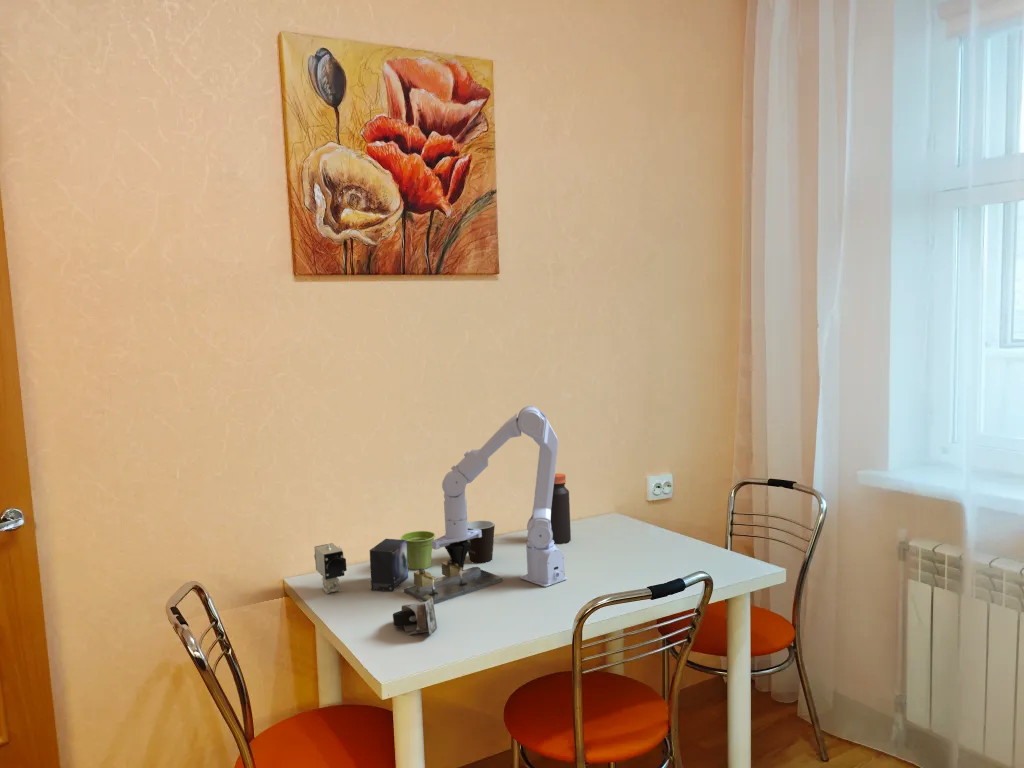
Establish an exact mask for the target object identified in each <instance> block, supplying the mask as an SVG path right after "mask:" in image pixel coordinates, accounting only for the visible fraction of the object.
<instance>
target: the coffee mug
mask: <svg viewBox="0 0 1024 768" xmlns="http://www.w3.org/2000/svg"><path fill="white" fill-rule="evenodd" d="M467 523H468V530H473V529H480V530H481V531H482V537H480V538H478V537H477V538H473V539H469V540H467V542H470V543H471V547H470V548H469V550H468V553H467V555H468V559H469V562H470V563H472V562H473V563H472V564H487V563H490V562H492V561H493V555H494V554H493V552H494V538H495V526H496V525H495V524H496V523H495V522H493V521H490V520H473V521H467ZM491 560H492V561H491ZM486 562H487V563H486Z"/></svg>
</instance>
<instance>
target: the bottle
mask: <svg viewBox="0 0 1024 768" xmlns="http://www.w3.org/2000/svg"><path fill="white" fill-rule="evenodd" d="M565 485H566V473H565V474H564V473H559V472H558V473H555V478H554V487H553V496H552V505H551V521H550V522H551V530H552V533H553V538H552V540H554V543H557V544H556V545H558V544H559V545H562V543H564V544H567V543H569V541H570V542H571V541H572V536H571V533H572V530H571V512H570V511H571V510H570V509H571V507H570V491H569V489H568V488H566V486H565Z"/></svg>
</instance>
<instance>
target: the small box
mask: <svg viewBox="0 0 1024 768" xmlns="http://www.w3.org/2000/svg"><path fill="white" fill-rule="evenodd" d="M369 563H370V568H369V569H370V591H380V592H381V591H383V592H395V590H396V589H397V588H398V587H400V586H401V585H402V584H403V583H404V582H405V581H406V580H408V579H409V567H408V561H407V540H402V539H397V538H385V539H384V540H382V541H381V542H380V543H378V544H377V545H375V546H374V547H372V548H371V549H370V550H369Z"/></svg>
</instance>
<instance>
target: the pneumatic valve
mask: <svg viewBox="0 0 1024 768" xmlns="http://www.w3.org/2000/svg"><path fill="white" fill-rule="evenodd" d="M313 556H314V561H315V571H317V573H318V574H320V576H322V577H321V581H322V585H323V587H322V590H323V591H324V592H325V593H326V594H328V593H329V594H330V593H335V592H337V591H338V592H339V591H340V590H341V589H340V584H339V582H340V579H339V578H340V577H344V576H345V572H347V570H348V569H347V559H346V558H345V557H344V551H343V548H342V547H341V546H336V545H335V544H334V543H328V544H321V545H316V546H314V555H313ZM329 594H328V595H329Z"/></svg>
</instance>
